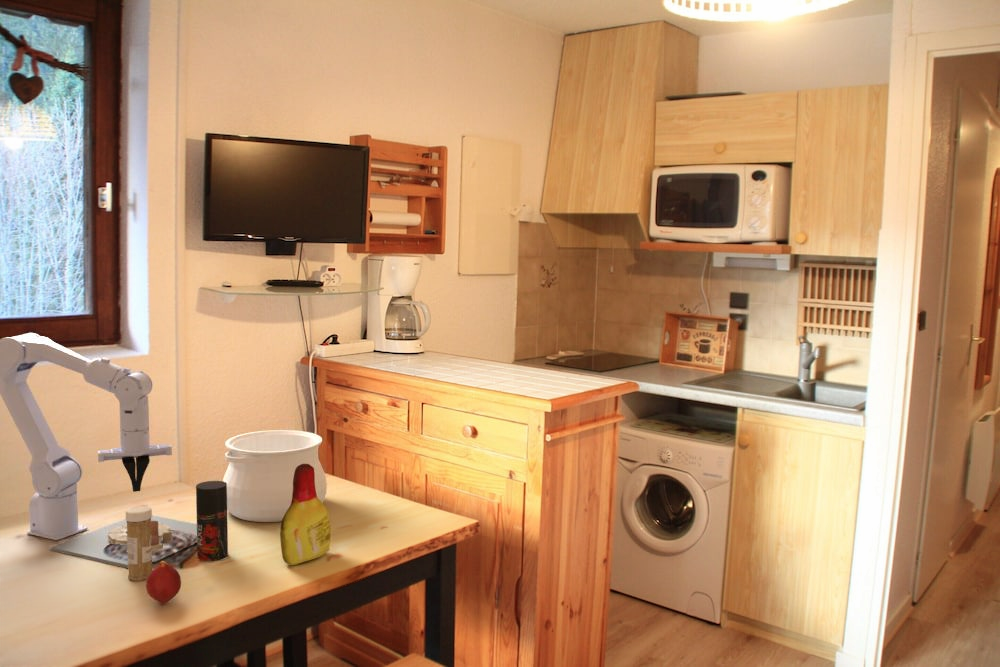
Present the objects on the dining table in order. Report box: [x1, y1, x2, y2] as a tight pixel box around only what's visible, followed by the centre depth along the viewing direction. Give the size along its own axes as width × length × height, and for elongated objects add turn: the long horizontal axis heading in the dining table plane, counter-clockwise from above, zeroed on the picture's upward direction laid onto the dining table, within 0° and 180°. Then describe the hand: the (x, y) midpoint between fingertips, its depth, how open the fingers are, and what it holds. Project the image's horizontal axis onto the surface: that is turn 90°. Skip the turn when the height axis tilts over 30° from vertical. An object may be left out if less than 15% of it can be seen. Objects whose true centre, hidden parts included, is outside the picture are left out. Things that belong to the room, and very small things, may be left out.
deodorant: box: [195, 480, 229, 563], centre depth 170 cm, size 6×6×15 cm
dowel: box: [163, 531, 172, 543], centre depth 175 cm, size 2×2×3 cm
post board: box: [49, 514, 197, 569], centre depth 179 cm, size 24×24×5 cm
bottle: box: [279, 464, 332, 566], centre depth 169 cm, size 12×6×20 cm, turn 143°
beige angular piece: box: [108, 521, 170, 551], centre depth 177 cm, size 17×12×6 cm
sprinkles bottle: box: [125, 505, 154, 582], centre depth 160 cm, size 5×5×14 cm
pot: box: [222, 429, 328, 523], centre depth 201 cm, size 26×24×17 cm
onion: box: [145, 560, 182, 605], centre depth 148 cm, size 6×6×8 cm
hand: (136, 490), depth 182 cm, fingers closed
